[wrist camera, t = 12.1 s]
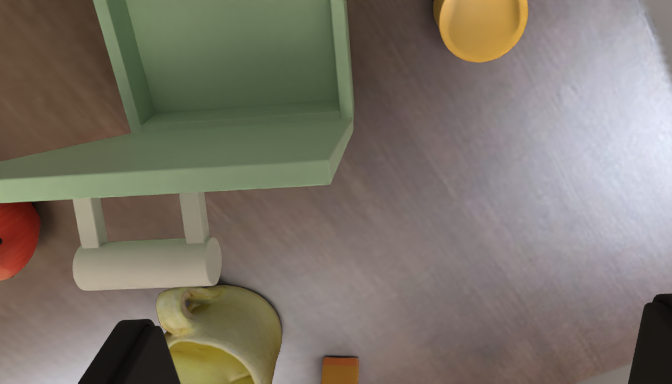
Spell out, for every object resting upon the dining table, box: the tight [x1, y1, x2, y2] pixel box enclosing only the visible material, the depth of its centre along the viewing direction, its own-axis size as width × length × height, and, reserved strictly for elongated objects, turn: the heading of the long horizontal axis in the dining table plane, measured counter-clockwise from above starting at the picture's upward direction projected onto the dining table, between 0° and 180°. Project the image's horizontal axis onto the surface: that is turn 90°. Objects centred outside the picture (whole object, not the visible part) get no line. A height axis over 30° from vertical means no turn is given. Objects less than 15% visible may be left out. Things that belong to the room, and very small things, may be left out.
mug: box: [156, 285, 282, 384], centre depth 40 cm, size 12×10×10 cm
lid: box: [0, 119, 353, 291], centre depth 24 cm, size 16×15×5 cm
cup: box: [433, 0, 528, 62], centre depth 29 cm, size 5×5×5 cm
